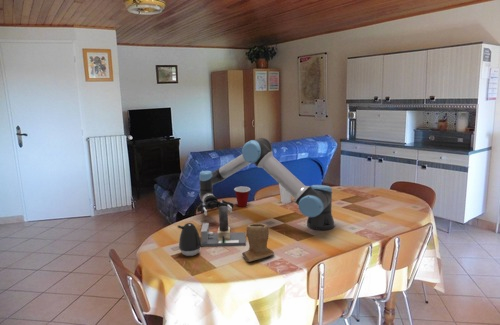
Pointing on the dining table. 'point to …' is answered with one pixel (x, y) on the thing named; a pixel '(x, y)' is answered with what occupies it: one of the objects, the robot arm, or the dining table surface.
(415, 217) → the dining table surface
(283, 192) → the foam cup
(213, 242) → the gauge base
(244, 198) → the plastic cup
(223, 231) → the gauge slider
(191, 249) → the pump dispenser
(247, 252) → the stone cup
